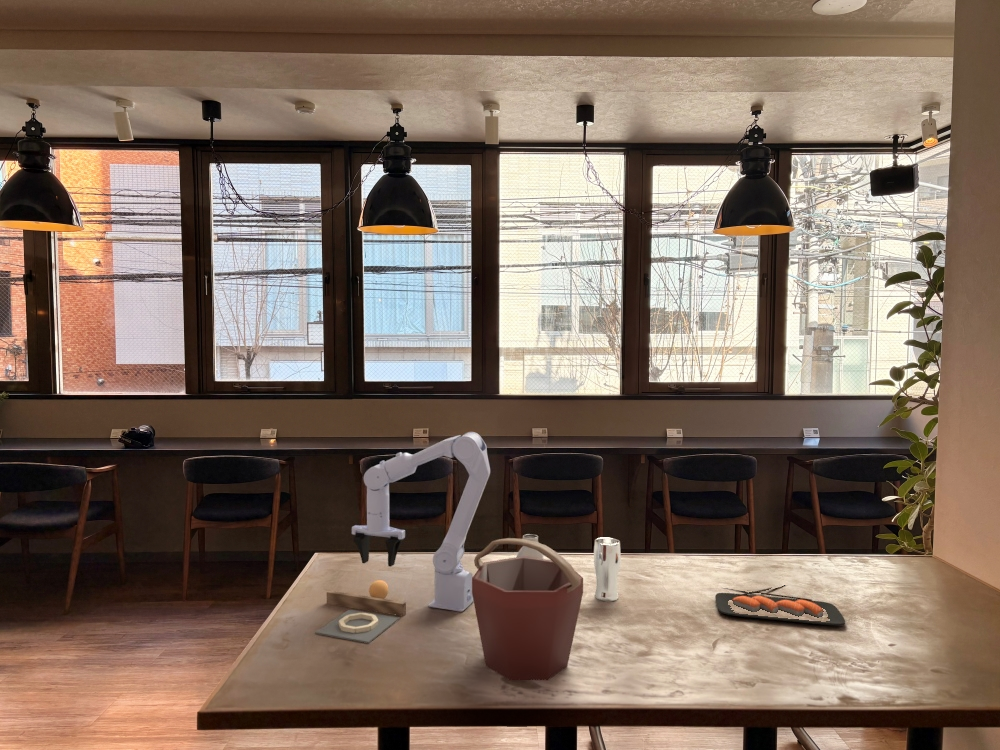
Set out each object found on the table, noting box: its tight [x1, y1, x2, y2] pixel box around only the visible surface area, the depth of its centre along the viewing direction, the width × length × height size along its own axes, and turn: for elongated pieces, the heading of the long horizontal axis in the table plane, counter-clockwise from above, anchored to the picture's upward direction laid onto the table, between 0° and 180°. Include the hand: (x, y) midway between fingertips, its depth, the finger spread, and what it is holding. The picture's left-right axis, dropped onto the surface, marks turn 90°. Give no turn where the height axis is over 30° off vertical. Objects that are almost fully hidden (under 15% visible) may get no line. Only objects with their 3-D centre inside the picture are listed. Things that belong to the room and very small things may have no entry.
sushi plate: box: [714, 587, 846, 626], centre depth 171 cm, size 29×30×4 cm
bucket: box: [472, 537, 584, 681], centre depth 136 cm, size 24×22×25 cm
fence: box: [326, 590, 407, 617], centre depth 163 cm, size 22×1×3 cm, turn 70°
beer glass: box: [593, 537, 621, 602], centre depth 172 cm, size 7×7×15 cm
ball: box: [368, 579, 389, 599], centre depth 169 cm, size 5×5×5 cm
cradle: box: [315, 608, 401, 644], centre depth 153 cm, size 14×14×1 cm
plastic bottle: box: [516, 533, 544, 559], centre depth 158 cm, size 6×7×20 cm
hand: (378, 563), depth 169 cm, fingers open, 7 cm apart
